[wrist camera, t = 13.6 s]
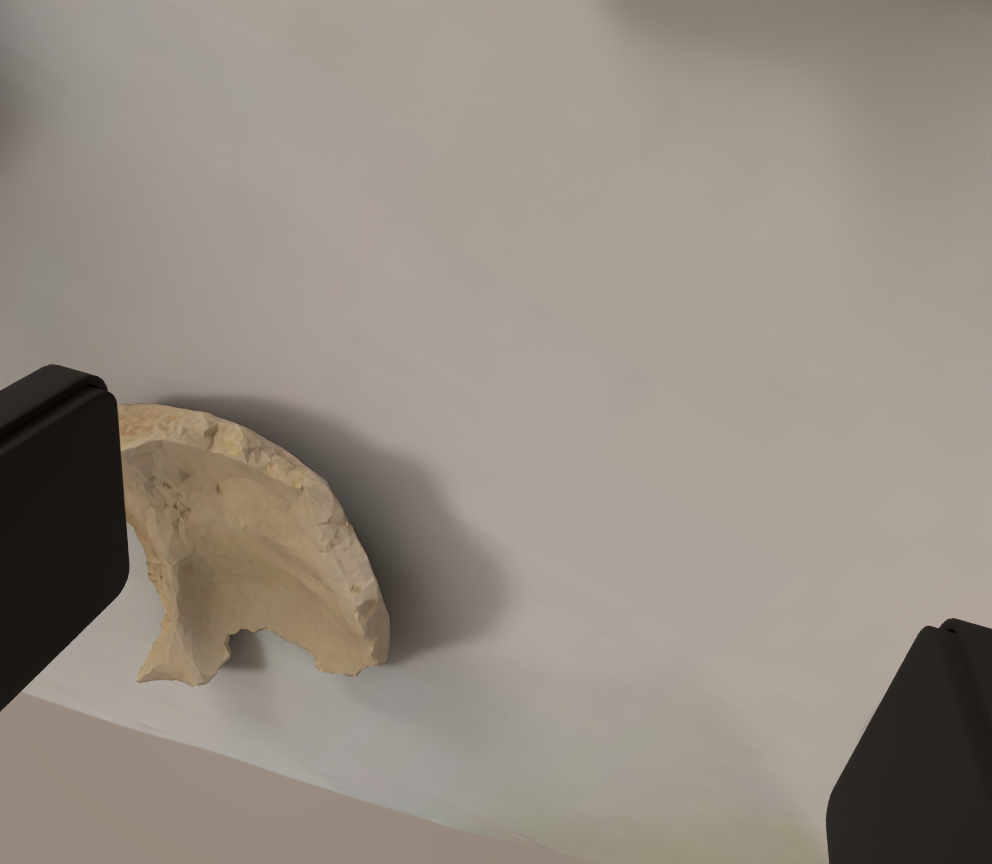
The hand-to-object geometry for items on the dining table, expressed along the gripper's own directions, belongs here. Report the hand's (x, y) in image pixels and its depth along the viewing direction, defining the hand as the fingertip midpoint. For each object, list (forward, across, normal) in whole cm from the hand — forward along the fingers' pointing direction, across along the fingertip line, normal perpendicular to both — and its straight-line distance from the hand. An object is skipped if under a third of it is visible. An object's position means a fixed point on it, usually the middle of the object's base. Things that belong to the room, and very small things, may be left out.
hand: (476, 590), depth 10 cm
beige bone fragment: (+24, +15, +23) cm, 37 cm away
